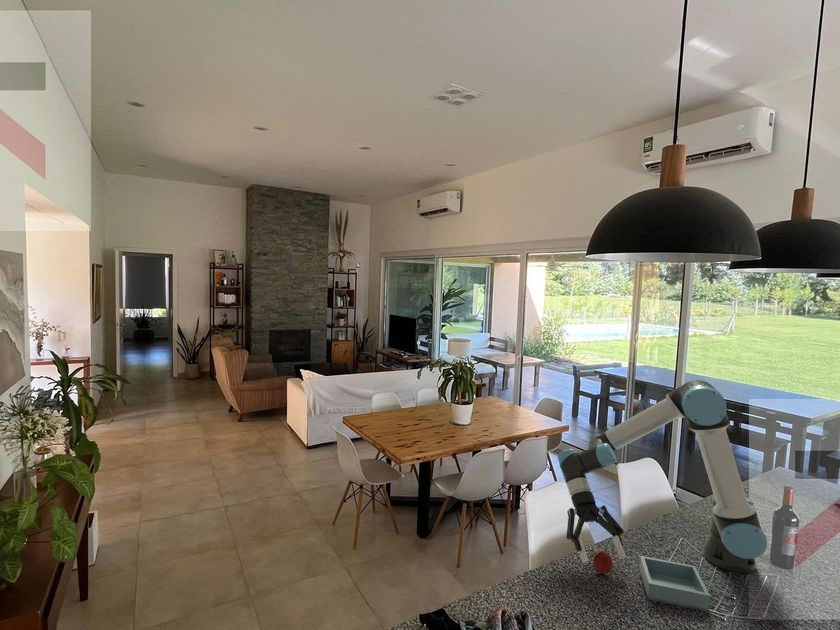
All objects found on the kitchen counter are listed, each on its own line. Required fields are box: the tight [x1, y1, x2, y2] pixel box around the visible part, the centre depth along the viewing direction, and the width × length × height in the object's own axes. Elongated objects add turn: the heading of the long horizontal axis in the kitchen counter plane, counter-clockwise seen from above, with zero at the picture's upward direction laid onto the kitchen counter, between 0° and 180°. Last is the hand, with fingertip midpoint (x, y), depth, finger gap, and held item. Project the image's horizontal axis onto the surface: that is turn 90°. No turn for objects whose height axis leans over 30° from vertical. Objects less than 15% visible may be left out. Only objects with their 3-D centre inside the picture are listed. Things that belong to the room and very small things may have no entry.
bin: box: [638, 555, 711, 613], centre depth 140 cm, size 16×15×5 cm
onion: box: [592, 549, 614, 575], centre depth 146 cm, size 6×6×8 cm
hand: (604, 560), depth 145 cm, fingers open, 13 cm apart
